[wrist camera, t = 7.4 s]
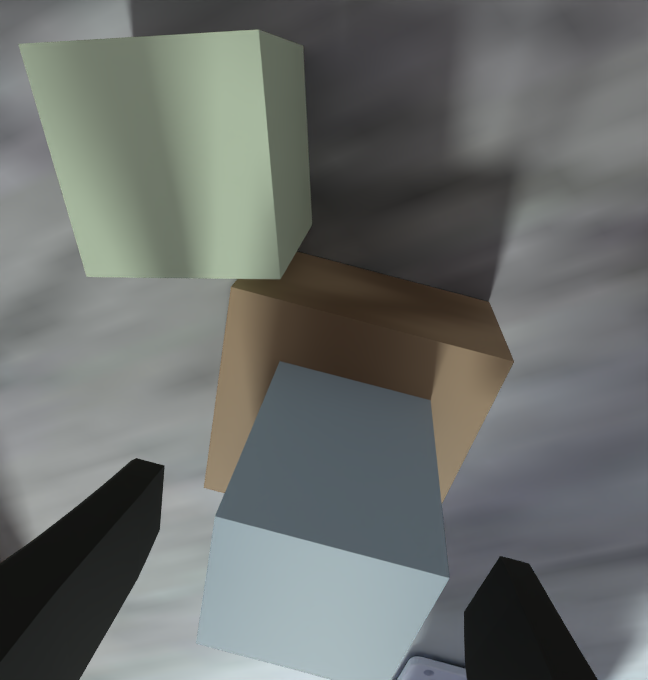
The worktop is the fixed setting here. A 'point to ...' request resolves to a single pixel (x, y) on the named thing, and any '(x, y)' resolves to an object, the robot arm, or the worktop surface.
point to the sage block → (178, 151)
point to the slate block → (328, 530)
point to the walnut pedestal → (358, 351)
